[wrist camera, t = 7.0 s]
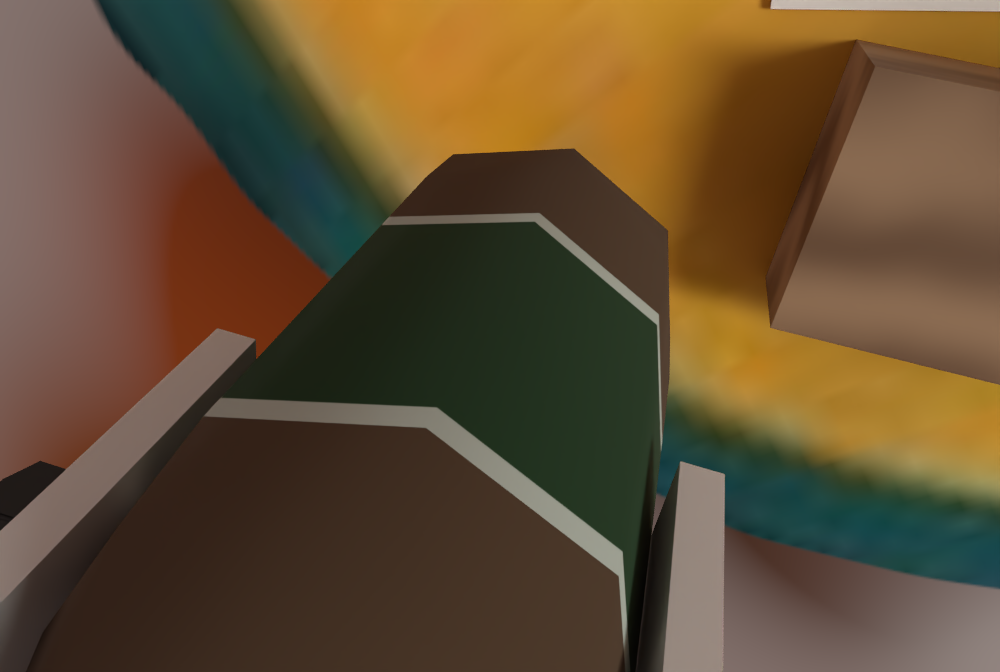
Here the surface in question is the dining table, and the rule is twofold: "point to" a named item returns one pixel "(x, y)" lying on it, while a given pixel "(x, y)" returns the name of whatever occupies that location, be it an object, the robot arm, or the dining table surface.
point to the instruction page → (889, 5)
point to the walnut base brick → (900, 216)
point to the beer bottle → (417, 455)
